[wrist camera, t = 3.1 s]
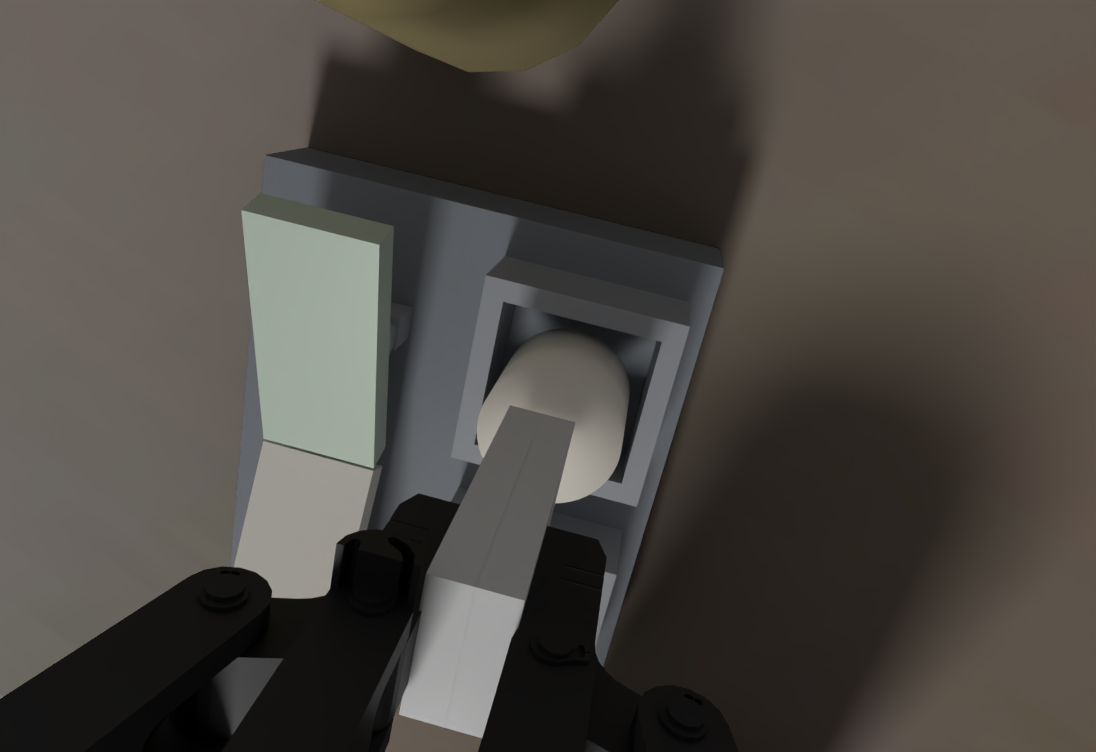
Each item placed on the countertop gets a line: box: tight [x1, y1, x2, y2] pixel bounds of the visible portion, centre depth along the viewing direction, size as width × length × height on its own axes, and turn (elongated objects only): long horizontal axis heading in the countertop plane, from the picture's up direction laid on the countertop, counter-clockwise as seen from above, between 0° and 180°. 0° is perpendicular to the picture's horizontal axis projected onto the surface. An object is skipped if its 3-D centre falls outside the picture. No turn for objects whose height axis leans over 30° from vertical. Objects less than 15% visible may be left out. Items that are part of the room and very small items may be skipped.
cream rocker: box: [234, 440, 382, 599], centre depth 26 cm, size 4×8×2 cm, turn 168°
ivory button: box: [477, 328, 630, 503], centre depth 21 cm, size 4×4×3 cm
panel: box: [231, 147, 724, 667], centre depth 27 cm, size 14×16×6 cm
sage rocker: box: [241, 193, 396, 468], centre depth 23 cm, size 4×8×2 cm, turn 168°
